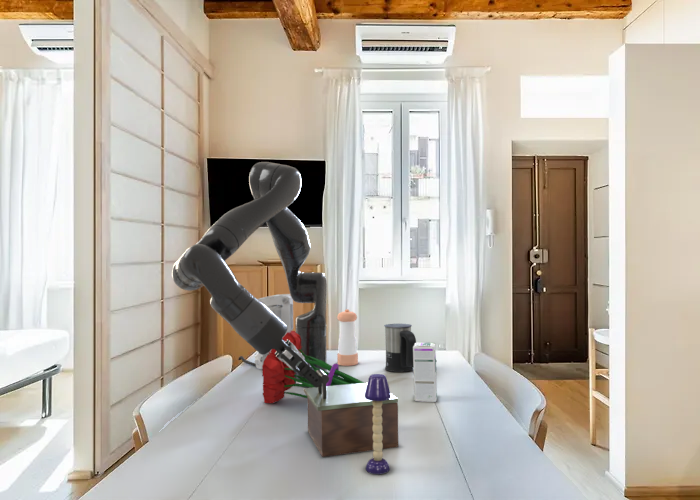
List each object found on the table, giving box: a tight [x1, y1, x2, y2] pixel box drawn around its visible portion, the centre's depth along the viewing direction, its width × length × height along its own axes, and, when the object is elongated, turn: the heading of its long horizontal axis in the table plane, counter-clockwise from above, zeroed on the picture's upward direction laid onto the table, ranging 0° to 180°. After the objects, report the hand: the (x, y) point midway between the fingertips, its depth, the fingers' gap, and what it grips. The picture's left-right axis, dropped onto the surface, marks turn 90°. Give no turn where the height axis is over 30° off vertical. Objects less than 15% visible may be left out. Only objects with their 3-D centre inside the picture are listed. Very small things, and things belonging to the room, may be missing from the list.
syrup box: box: [412, 341, 438, 403], centre depth 129 cm, size 6×6×14 cm
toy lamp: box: [365, 373, 392, 475], centre depth 87 cm, size 5×5×17 cm
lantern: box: [254, 293, 294, 370], centre depth 169 cm, size 13×10×25 cm
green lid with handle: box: [303, 370, 399, 411], centre depth 101 cm, size 16×14×6 cm
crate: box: [307, 398, 399, 458], centre depth 101 cm, size 16×14×9 cm
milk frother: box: [383, 323, 437, 373], centre depth 163 cm, size 14×16×15 cm
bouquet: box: [261, 330, 365, 404], centre depth 125 cm, size 20×16×30 cm
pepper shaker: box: [336, 308, 359, 367], centre depth 173 cm, size 7×7×19 cm
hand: (315, 378), depth 99 cm, fingers open, 8 cm apart
